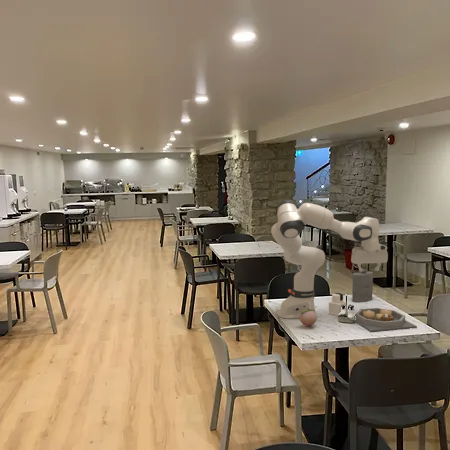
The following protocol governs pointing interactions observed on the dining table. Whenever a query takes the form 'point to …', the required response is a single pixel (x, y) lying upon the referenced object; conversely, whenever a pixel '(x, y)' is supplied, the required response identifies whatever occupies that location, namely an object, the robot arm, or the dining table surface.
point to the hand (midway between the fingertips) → (368, 271)
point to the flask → (362, 286)
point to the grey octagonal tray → (373, 322)
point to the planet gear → (387, 318)
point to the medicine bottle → (336, 304)
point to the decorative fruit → (308, 317)
